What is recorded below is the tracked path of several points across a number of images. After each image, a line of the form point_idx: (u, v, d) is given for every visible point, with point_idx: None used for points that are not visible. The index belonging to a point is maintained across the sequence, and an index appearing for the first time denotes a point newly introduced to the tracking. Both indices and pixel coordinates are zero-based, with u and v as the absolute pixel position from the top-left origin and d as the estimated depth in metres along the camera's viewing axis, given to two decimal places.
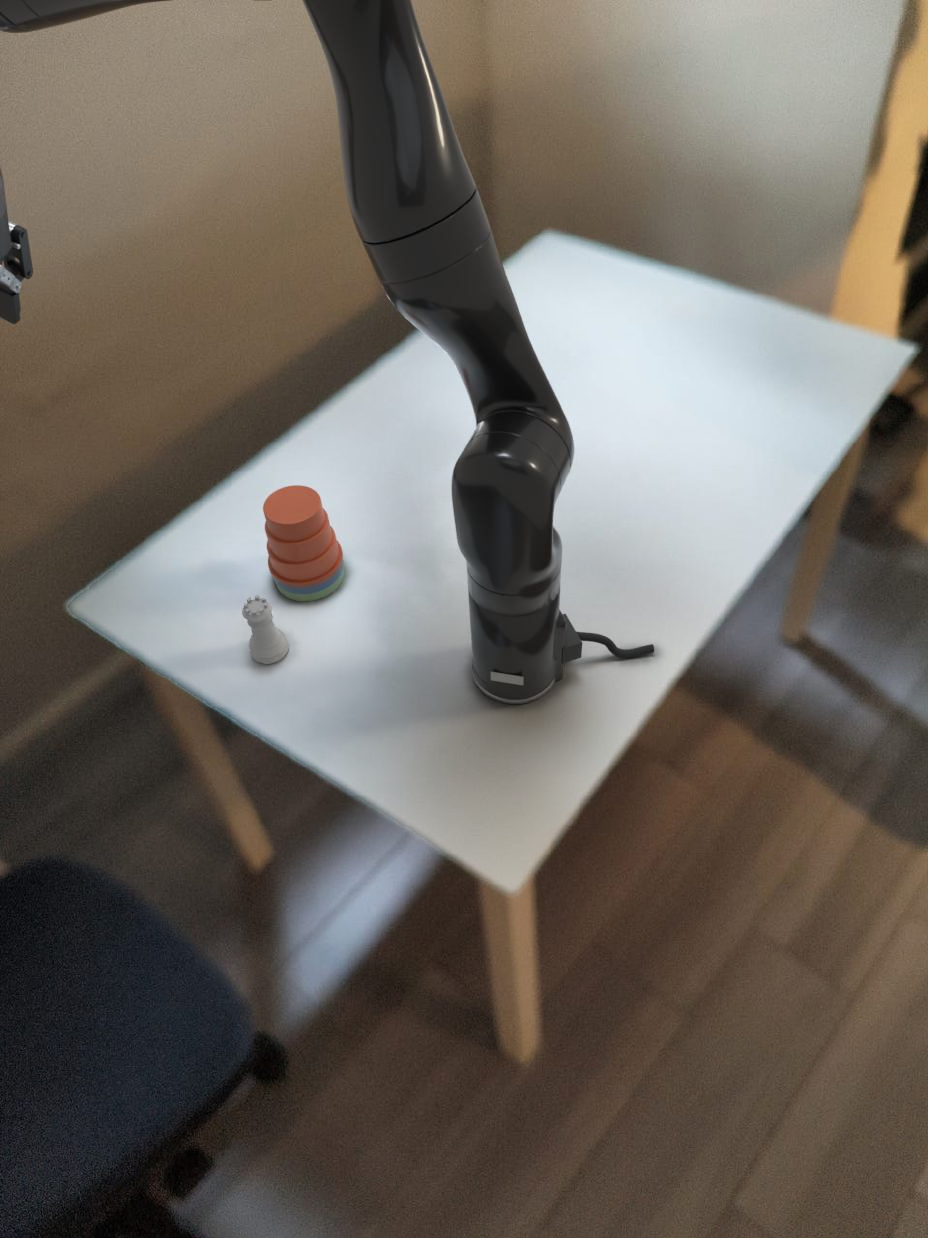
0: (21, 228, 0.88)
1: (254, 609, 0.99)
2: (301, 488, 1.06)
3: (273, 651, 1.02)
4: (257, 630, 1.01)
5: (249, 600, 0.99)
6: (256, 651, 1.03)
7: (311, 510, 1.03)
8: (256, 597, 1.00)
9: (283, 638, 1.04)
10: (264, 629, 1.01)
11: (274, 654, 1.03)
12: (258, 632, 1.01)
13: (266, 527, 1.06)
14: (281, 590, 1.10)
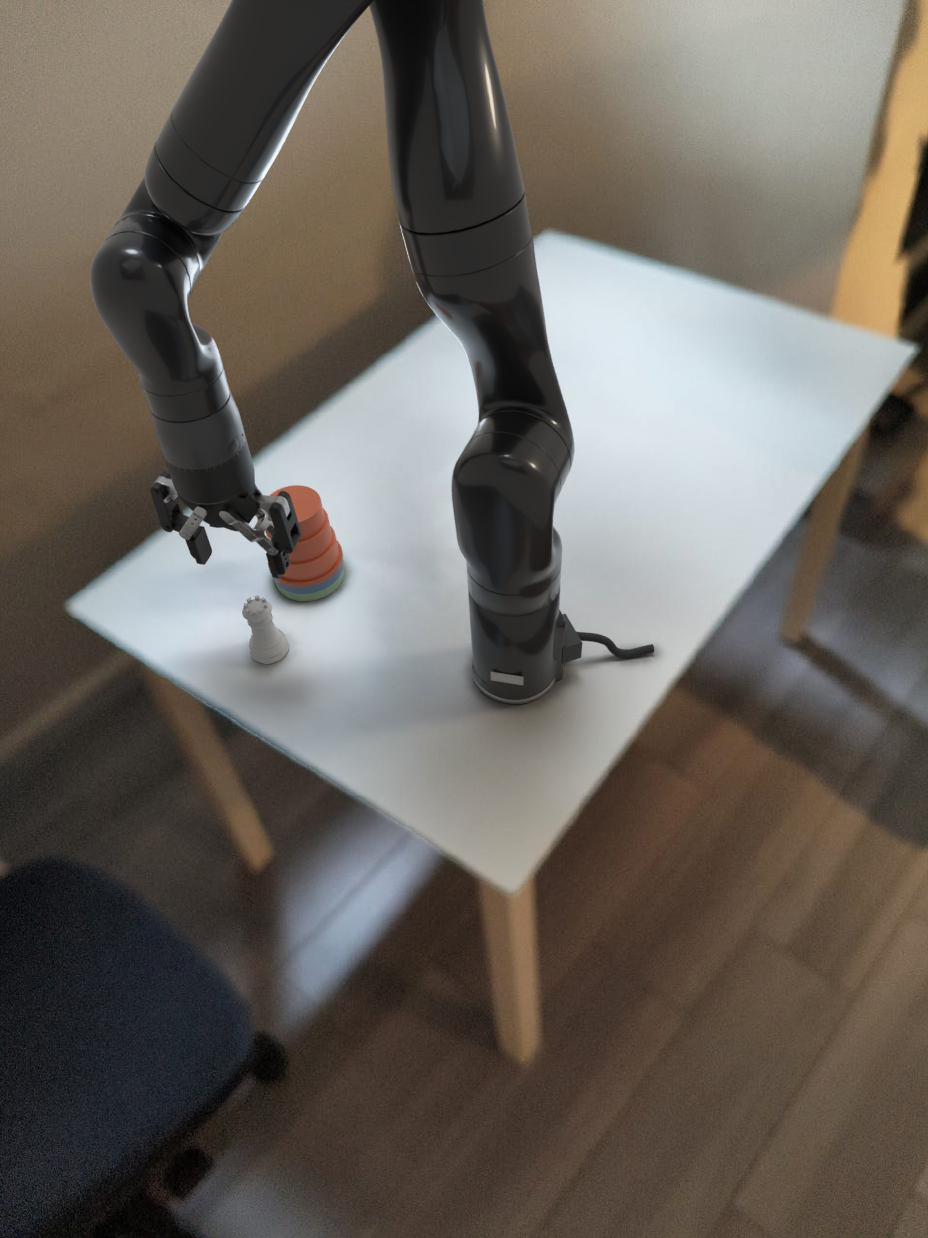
0: (164, 472, 0.89)
1: (254, 609, 0.99)
2: (301, 488, 1.06)
3: (273, 651, 1.02)
4: (257, 630, 1.01)
5: (249, 600, 0.99)
6: (256, 651, 1.03)
7: (311, 510, 1.03)
8: (256, 597, 1.00)
9: (283, 638, 1.04)
10: (264, 629, 1.01)
11: (274, 654, 1.03)
12: (258, 632, 1.01)
13: None
14: (281, 590, 1.10)
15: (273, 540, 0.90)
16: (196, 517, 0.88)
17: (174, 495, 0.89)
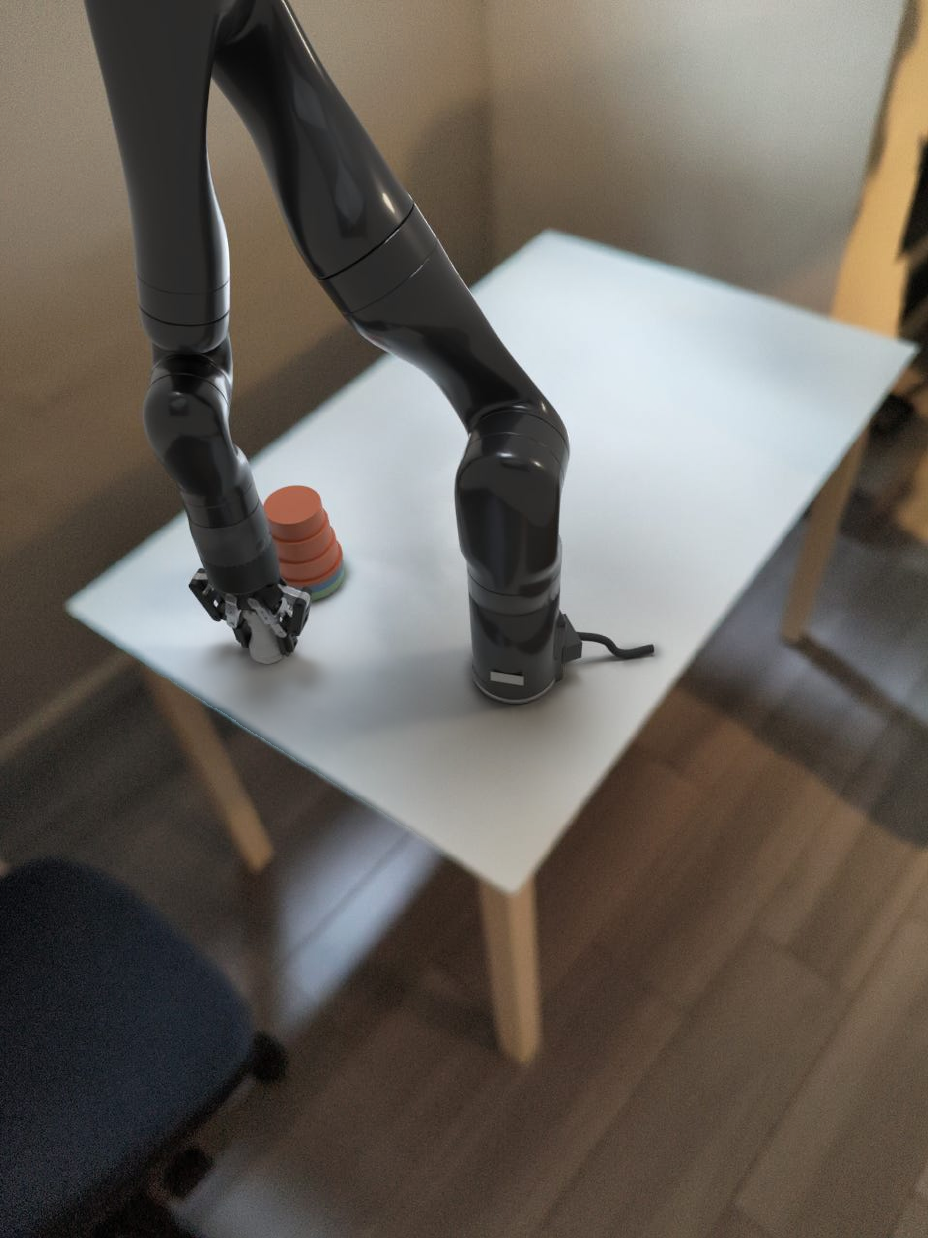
0: (199, 569, 0.99)
1: None
2: (301, 488, 1.06)
3: (273, 651, 1.02)
4: (257, 630, 1.01)
5: None
6: (256, 651, 1.03)
7: (311, 510, 1.03)
8: None
9: None
10: (264, 629, 1.01)
11: (274, 654, 1.03)
12: (258, 632, 1.01)
13: None
14: None
15: (282, 624, 1.00)
16: (231, 604, 0.97)
17: (210, 586, 0.98)
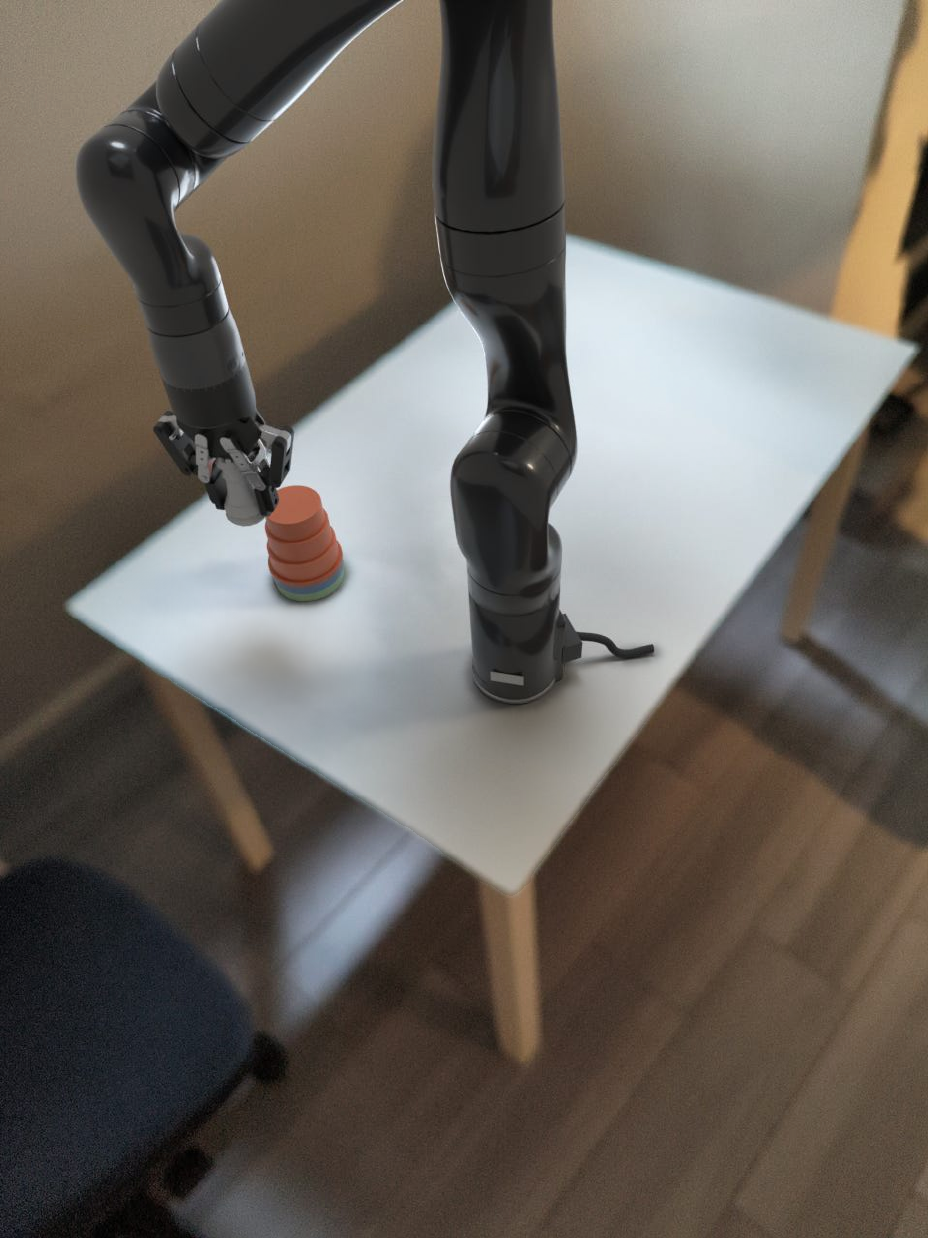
0: (166, 412, 0.87)
1: None
2: (301, 488, 1.06)
3: (251, 510, 0.91)
4: (232, 484, 0.89)
5: None
6: (232, 511, 0.91)
7: (311, 510, 1.03)
8: None
9: None
10: (240, 482, 0.89)
11: (252, 513, 0.91)
12: (234, 486, 0.89)
13: (266, 527, 1.06)
14: (281, 590, 1.10)
15: (261, 475, 0.88)
16: (201, 449, 0.86)
17: (178, 430, 0.87)
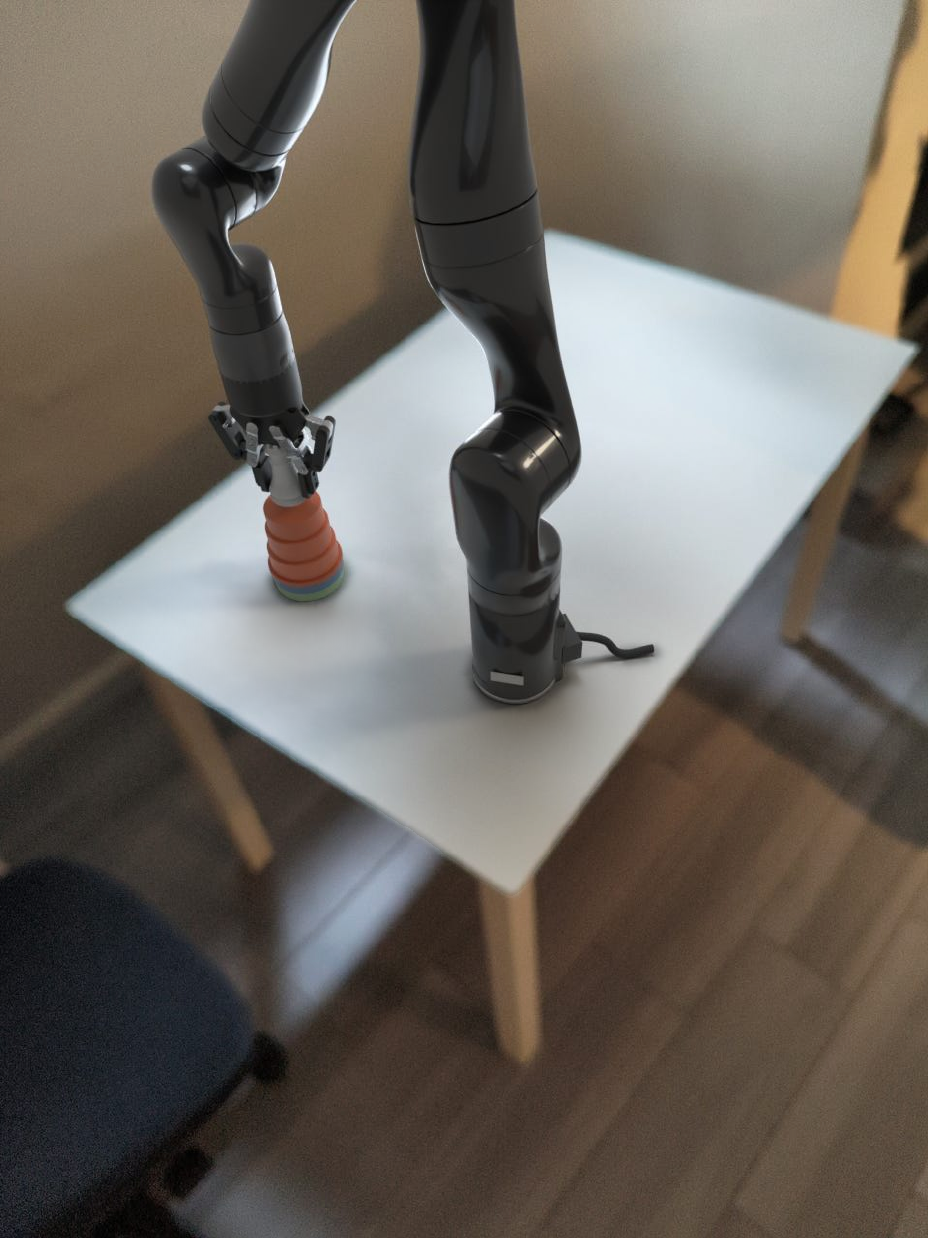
0: (219, 402, 0.97)
1: None
2: None
3: (294, 492, 1.00)
4: (277, 468, 0.98)
5: None
6: (277, 493, 1.00)
7: (311, 510, 1.03)
8: None
9: None
10: (285, 466, 0.98)
11: (294, 495, 1.00)
12: (279, 470, 0.99)
13: (266, 527, 1.06)
14: (281, 590, 1.10)
15: None
16: (251, 436, 0.95)
17: (230, 419, 0.96)
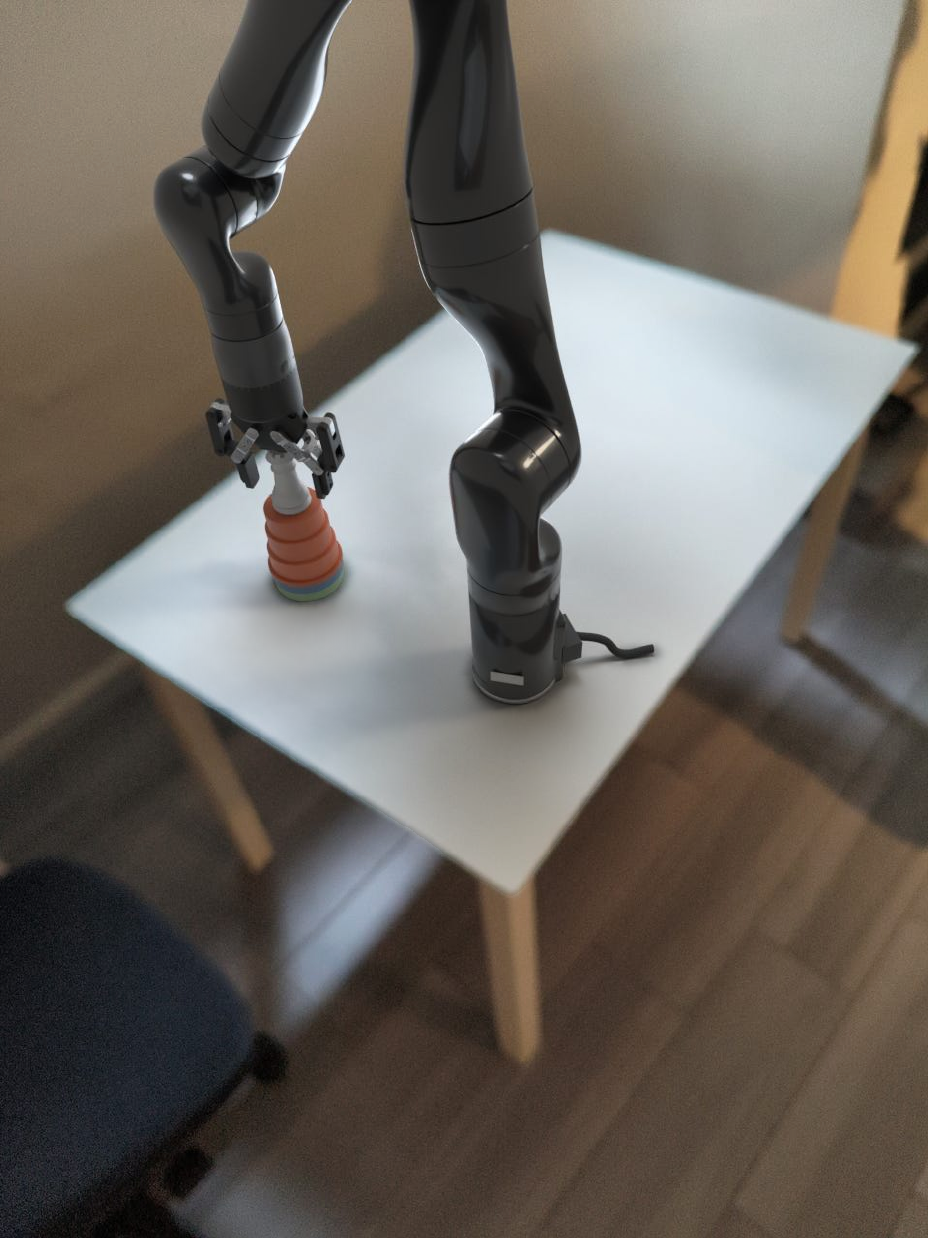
0: (218, 398, 0.96)
1: (278, 452, 0.98)
2: None
3: (296, 501, 1.01)
4: (280, 477, 0.99)
5: None
6: (279, 501, 1.01)
7: (311, 510, 1.03)
8: None
9: (306, 489, 1.02)
10: (287, 475, 0.99)
11: (296, 504, 1.01)
12: (282, 479, 1.00)
13: (266, 527, 1.06)
14: (281, 590, 1.10)
15: (318, 461, 0.97)
16: (248, 439, 0.96)
17: (227, 419, 0.96)
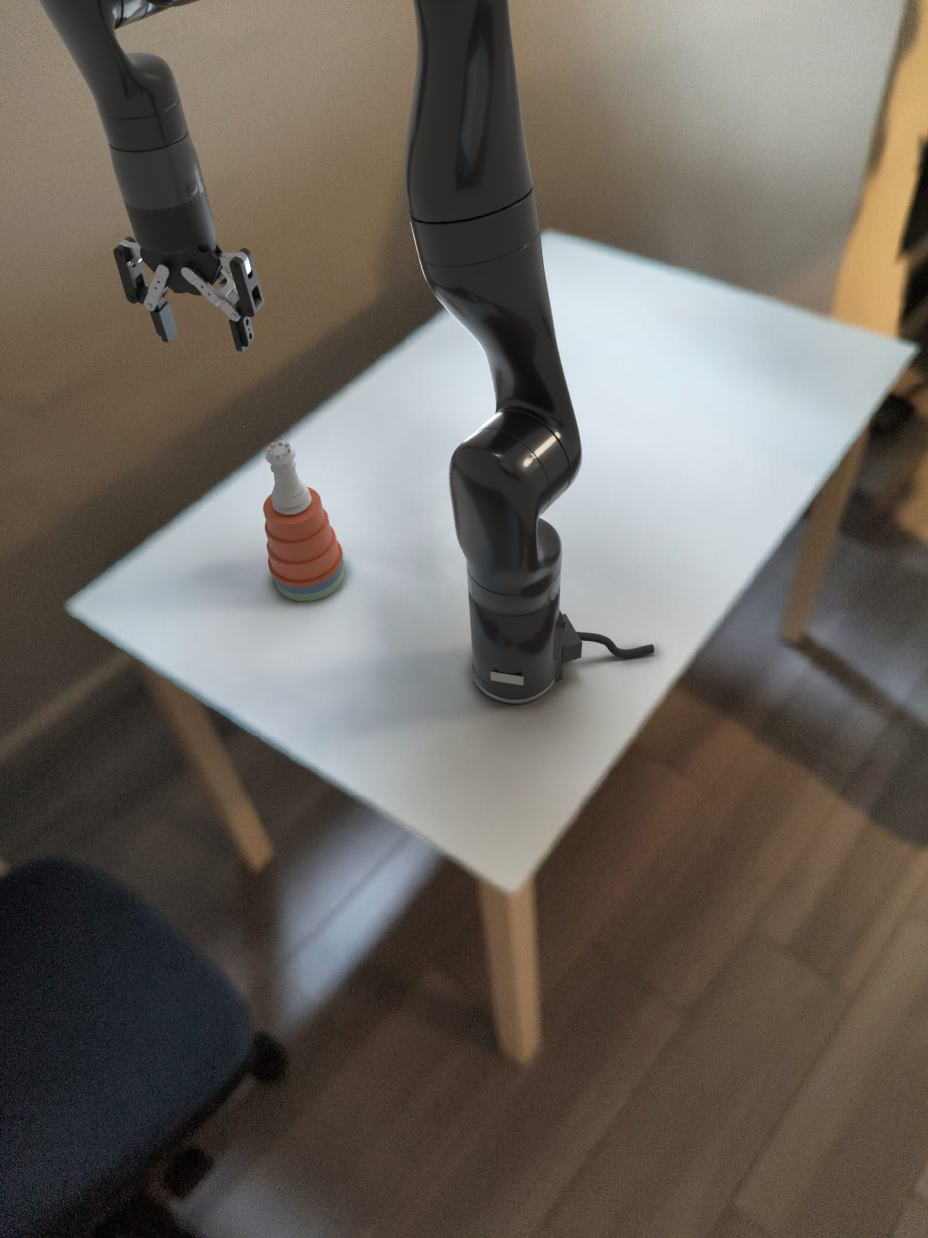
0: (128, 237, 0.90)
1: (278, 452, 0.98)
2: None
3: (296, 501, 1.01)
4: (280, 477, 0.99)
5: (273, 444, 0.98)
6: (279, 501, 1.01)
7: (311, 510, 1.03)
8: (279, 442, 0.98)
9: (306, 489, 1.02)
10: (287, 475, 0.99)
11: (296, 504, 1.01)
12: (282, 479, 1.00)
13: (266, 527, 1.06)
14: (281, 590, 1.10)
15: (235, 305, 0.91)
16: (159, 279, 0.90)
17: (137, 259, 0.90)
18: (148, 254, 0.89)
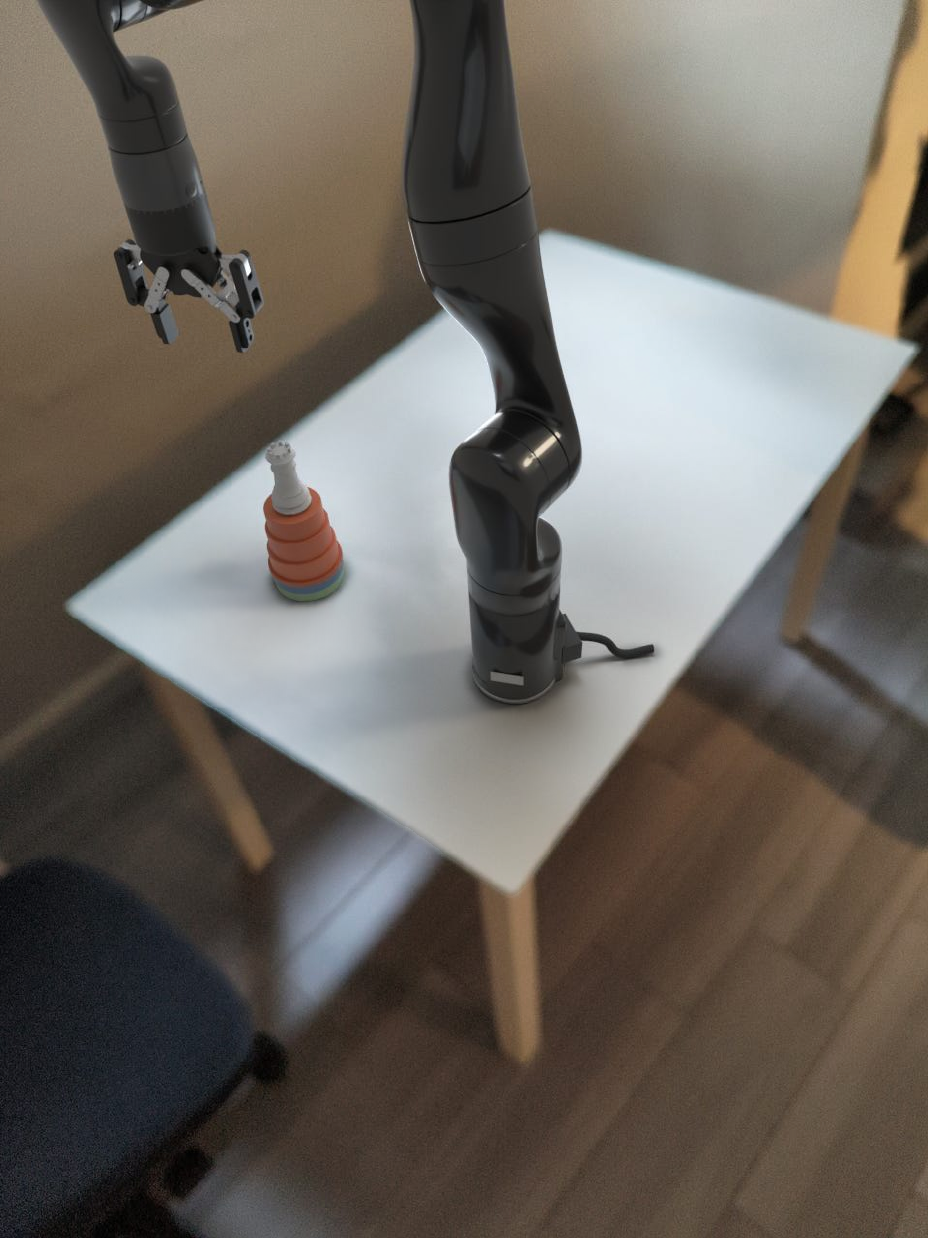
0: (128, 239, 0.91)
1: (278, 452, 0.98)
2: None
3: (296, 501, 1.01)
4: (280, 477, 0.99)
5: (273, 444, 0.98)
6: (279, 501, 1.01)
7: (311, 510, 1.03)
8: (279, 442, 0.98)
9: (306, 489, 1.02)
10: (287, 475, 0.99)
11: (296, 504, 1.01)
12: (282, 479, 1.00)
13: (266, 527, 1.06)
14: (281, 590, 1.10)
15: (235, 307, 0.91)
16: (159, 281, 0.90)
17: (138, 261, 0.91)
18: (148, 256, 0.89)
